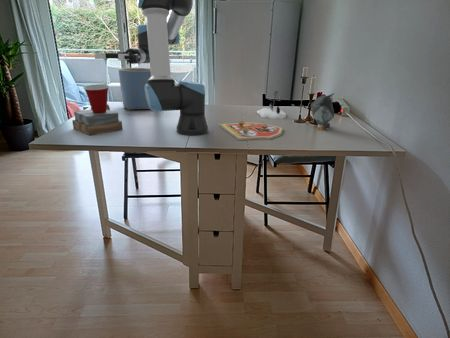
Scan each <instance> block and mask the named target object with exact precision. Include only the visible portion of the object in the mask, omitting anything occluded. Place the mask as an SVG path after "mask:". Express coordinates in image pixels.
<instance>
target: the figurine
mask: <svg viewBox="0 0 450 338" xmlns="http://www.w3.org/2000/svg"><path fill="white" fill-rule="evenodd" d="M278 94H279V89H275V90H274V93H273V96H274V98H273V99H270V98H267V100H269V101H271V102H269V103H270V104H269V107H267V108H266V107H262V108H261V109H259V110H257V111H256V114H258V115H259V116H260V117H261V118H264V119H267V118H268V119H272V120H275V119H276V120H277V119H279V120H282V119H285V118H287V113H286V112H285V111H283V110H282V109H280V106H278V105H277V106H276V108H275V107H274V105H275V103H273V102H275V101H277V102H279V101H280V102H281V96H278ZM277 96H278V97H277Z"/></svg>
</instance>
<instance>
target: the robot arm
mask: <svg viewBox="0 0 450 338" xmlns="http://www.w3.org/2000/svg"><path fill="white" fill-rule="evenodd" d="M193 3H194V1H193V0H136V4H137V5H136V6H137V8H139V9H141V14H142V15H143V16H144V17H145V22H146V24H145V23H143V24H141V23H140V24H139V23H138V24H137V27H136V28H137V33H136V34H137V43H138V48H137V47H135V48H131V47H129V48H127V49H126V50H125V51H122V52H94V53H93V54H94V59H95V60H103V61H105V60H106V59H117V60H118V61H126V62H127V63H128V64H131V65H134V64H135V65H138V66H139V65H141V64H149V67H150V68H149V69H150V71H151V77H150V78H149V79H148V84H146V85H145V95H146V99H147V103H148V106H149V108H150V109H149V110H151V111H154V112H169V111H179V117H178V122H177V125H176V132H177V133H178V134H180V135H185V136H201V135H205V134H208V132H209V126H208V123H207V119H206V110H205V109H206V88H205V85H204V84H203V83H201V82H196V81H191V80H182V79H181V80H179V81H178V83H176V82H175V80H176V79H175V78H173V76H172V75H171V63H170V60H171V59H170V49H169V48H170V46H174V45H175V46H176V45H179V43H180V32H179V31H180V29H181V27H182V26H183V23H184V21H185V19H186V17H187V16H188V15H189V14H190V13H191V12H192V9H193V6H194V4H193ZM169 45H170V46H169Z"/></svg>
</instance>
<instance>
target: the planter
mask: <svg viewBox="0 0 450 338" xmlns="http://www.w3.org/2000/svg"><path fill="white" fill-rule="evenodd" d="M117 70H118V77H119V85H120V92H121V98H122V99H121V101H122V105H123V107H124V108H126V109H127V110H128V111H129V110H151V109H150V108H149V106H148V103H147V99H146V95H145V85H146V84H148V79H149V78H150V77H151V71H150V68H145V67H122V68H121V67H120V68H118V69H117Z"/></svg>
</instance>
